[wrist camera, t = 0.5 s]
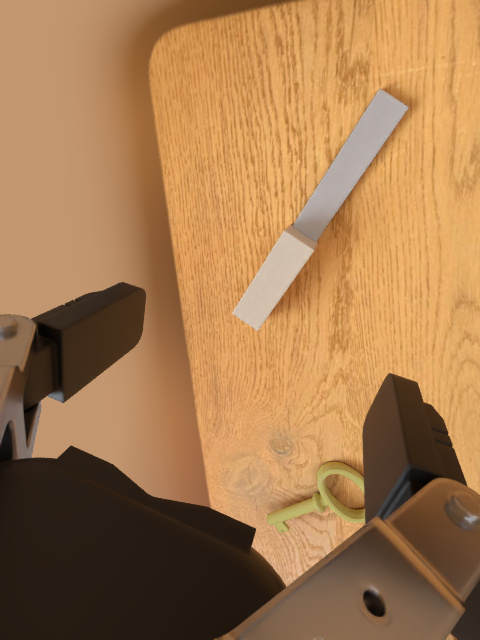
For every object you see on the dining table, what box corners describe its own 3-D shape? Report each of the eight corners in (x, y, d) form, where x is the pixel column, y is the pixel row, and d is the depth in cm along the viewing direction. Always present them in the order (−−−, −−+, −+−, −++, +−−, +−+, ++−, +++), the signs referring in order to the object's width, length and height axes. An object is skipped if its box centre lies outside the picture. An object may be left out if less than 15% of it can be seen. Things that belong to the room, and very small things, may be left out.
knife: (266, 317, 31) (257, 331, 28) (242, 301, 31) (231, 313, 28) (410, 109, 22) (418, 101, 19) (376, 88, 22) (379, 77, 19)
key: (266, 506, 40) (261, 523, 38) (336, 452, 34) (335, 469, 32) (315, 543, 40) (313, 562, 38) (393, 496, 34) (395, 515, 32)
